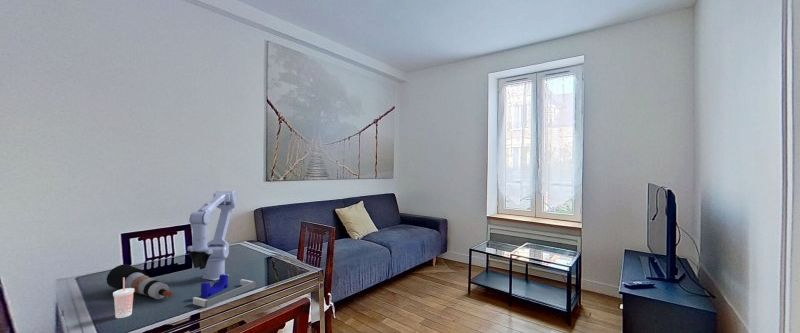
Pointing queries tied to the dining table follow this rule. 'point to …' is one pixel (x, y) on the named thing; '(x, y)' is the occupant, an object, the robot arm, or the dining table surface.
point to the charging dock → (225, 294)
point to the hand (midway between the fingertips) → (199, 268)
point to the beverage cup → (123, 301)
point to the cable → (137, 282)
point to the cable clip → (214, 286)
